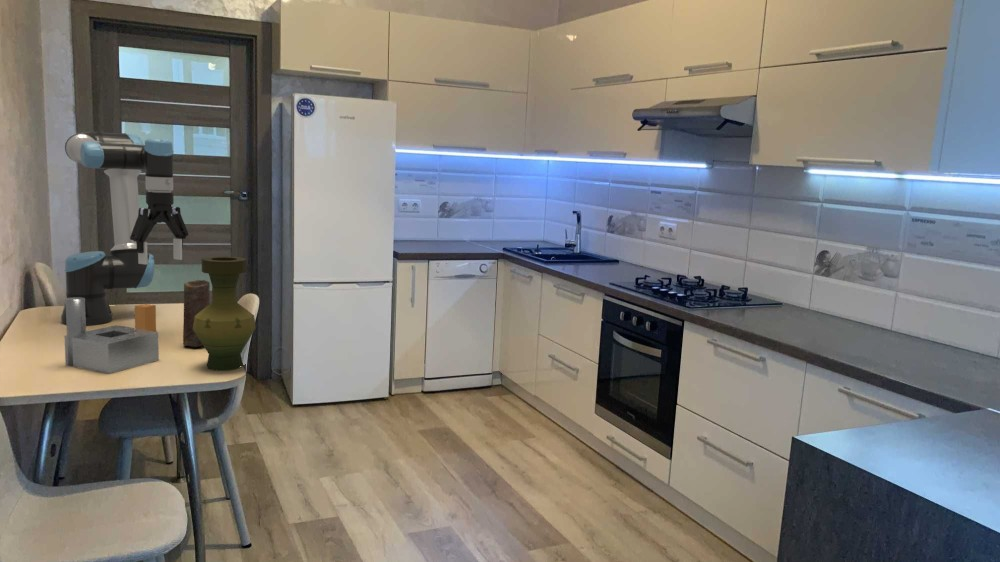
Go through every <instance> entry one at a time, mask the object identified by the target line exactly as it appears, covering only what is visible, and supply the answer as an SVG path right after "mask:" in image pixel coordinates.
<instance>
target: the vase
mask: <svg viewBox="0 0 1000 562" xmlns="http://www.w3.org/2000/svg"><path fill="white" fill-rule="evenodd" d="M201 272H202V273H203V274H208V276H209V280H210V283H211V294H212V295H211V299H212V300H211V302H210V303H209V305H208V306H207V307H205V308H204V309H203V310H202V311H200V312H199V313H198V314H196V315H195V316H194V322H193V330H194V332H195V333H196V335H197V336H198V338H199V340H200V341H201V343H202V344H203V345H202V347H203V348H204V349H205V350H206V352H207V355H208V357H207V362H206V366H207V367H206V368H207V369H208V370H211V371H221V372H222V371H223V372H224V371H226V372H227V371H234V370H237V368H238V369H240V368H239V367H240V366H242V367H243V366H244V364H243V363H244V362H243V359H242V358H243V357H242V355H241V354H242V351H243V350H244V348H245V347H246V345H247V343H248V342H249V340H250V339H251V337H252V335H253V334H254V332H255V331H256V328H257V326H256V319H255V315H254V314H253V313H252V312H250V311H249V310H248V309H246V308H245V307H244V306H242V305H241V304H240V303H238V302H237V297H238V295H237V286H238V281H239V277H240V274H245V273H246V272H247V259H246V258H244V257H239V256H226V255H225V256H223V255H222V256H206V257H203V258H201Z"/></svg>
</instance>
